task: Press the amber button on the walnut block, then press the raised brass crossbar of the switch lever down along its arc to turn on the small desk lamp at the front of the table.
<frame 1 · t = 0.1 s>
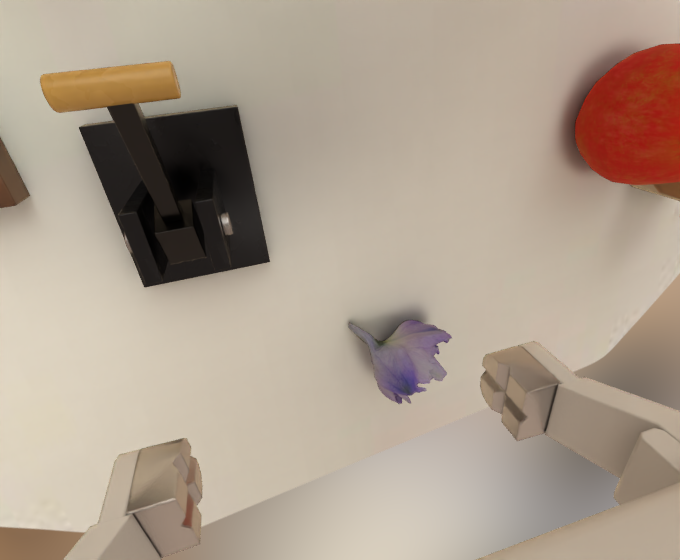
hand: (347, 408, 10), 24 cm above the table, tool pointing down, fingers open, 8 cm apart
cosmetic box: (657, 170, 41), on the table
switch bracket: (188, 198, 30), on the table
flower: (381, 336, 42), on the table
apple: (610, 114, 36), on the table
switch lever: (156, 178, 20), point 9 cm above the table, hinge at 25.0°
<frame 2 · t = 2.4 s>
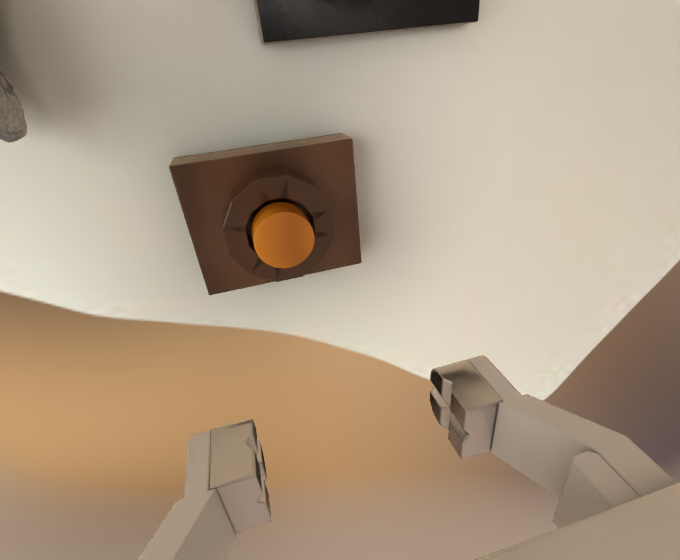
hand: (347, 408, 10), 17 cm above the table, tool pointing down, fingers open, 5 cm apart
button block: (273, 209, 25), on the table
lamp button: (282, 235, 21), point 4 cm above the table, slide at 0.1 cm
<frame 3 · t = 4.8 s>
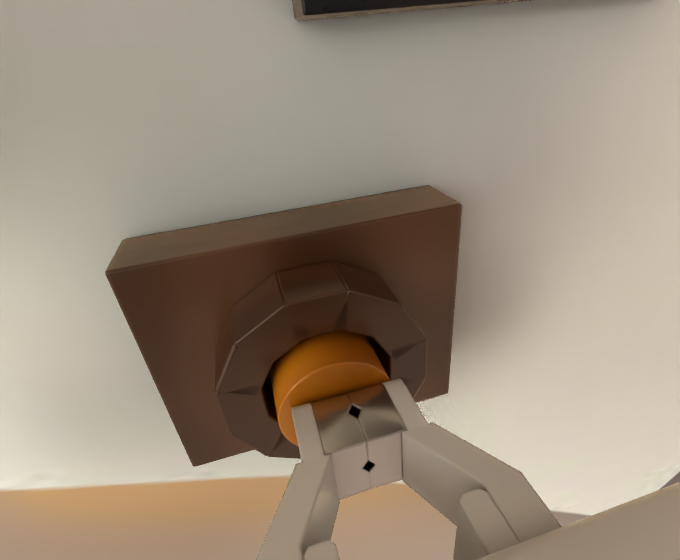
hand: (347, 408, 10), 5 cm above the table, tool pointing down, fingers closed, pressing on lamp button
button block: (303, 311, 14), on the table
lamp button: (330, 386, 11), point 4 cm above the table, slide at -0.3 cm, touching gripper
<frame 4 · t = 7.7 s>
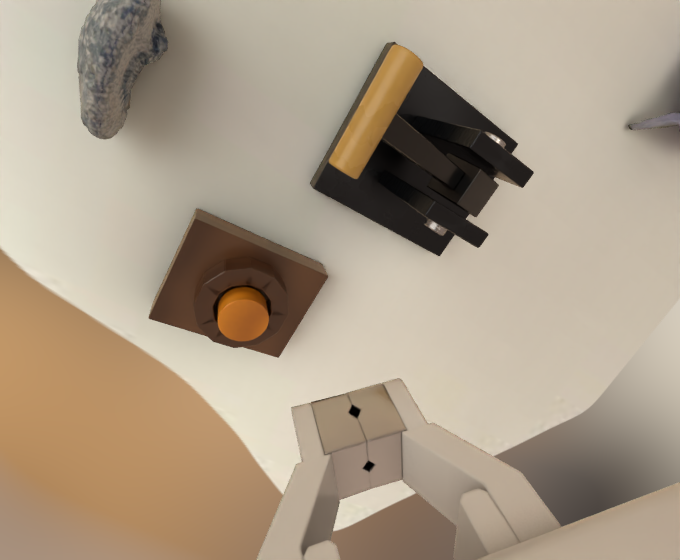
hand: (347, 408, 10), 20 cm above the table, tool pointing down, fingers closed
switch bracket: (412, 161, 28), on the table
flower: (673, 105, 32), on the table
button block: (240, 282, 29), on the table
grey rock: (109, 53, 21), on the table
switch lever: (429, 159, 19), point 9 cm above the table, hinge at 25.0°
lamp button: (243, 313, 26), point 4 cm above the table, slide at 0.1 cm
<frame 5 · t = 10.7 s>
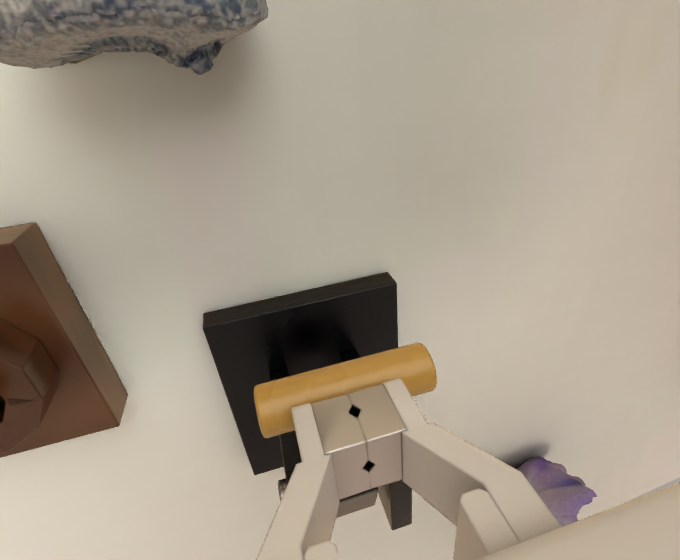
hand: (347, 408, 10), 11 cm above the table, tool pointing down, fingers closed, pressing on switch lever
switch bracket: (314, 373, 24), on the table
flower: (496, 472, 36), on the table
switch lever: (345, 446, 15), point 8 cm above the table, hinge at 17.9°, touching gripper
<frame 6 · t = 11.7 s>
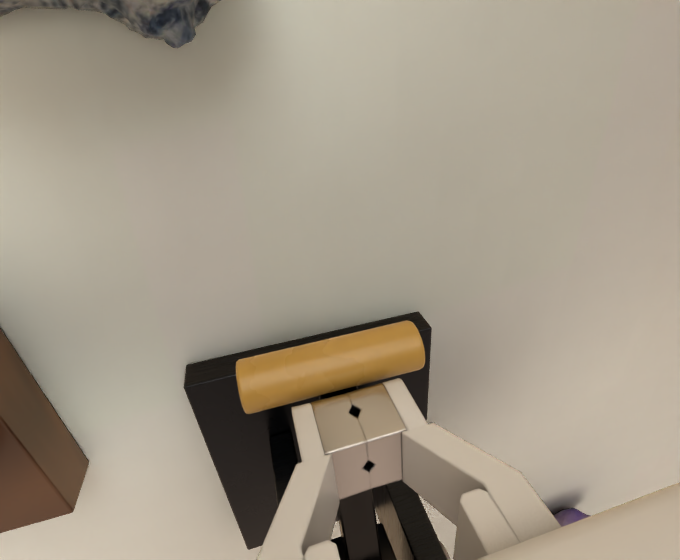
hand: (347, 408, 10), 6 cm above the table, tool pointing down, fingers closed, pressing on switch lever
switch bracket: (323, 430, 19), on the table
flower: (523, 524, 31), on the table
switch lever: (353, 499, 12), point 6 cm above the table, hinge at -13.2°, touching gripper
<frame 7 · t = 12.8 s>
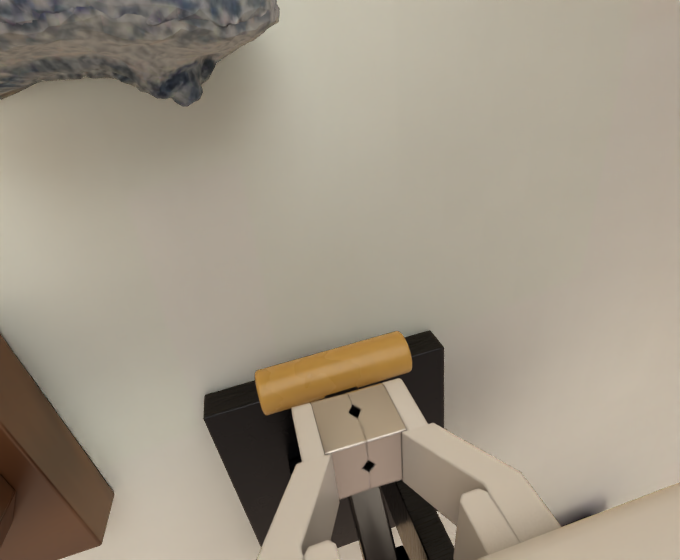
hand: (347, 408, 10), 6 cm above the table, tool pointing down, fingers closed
switch bracket: (341, 450, 20), on the table
switch lever: (367, 506, 13), point 5 cm above the table, hinge at -25.5°
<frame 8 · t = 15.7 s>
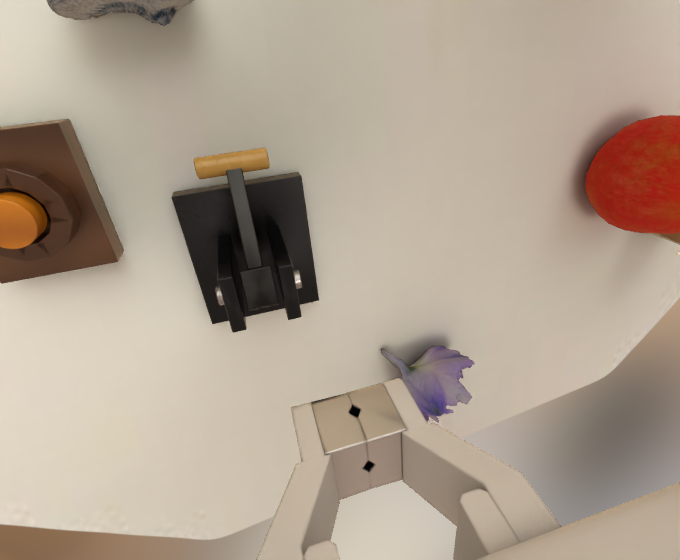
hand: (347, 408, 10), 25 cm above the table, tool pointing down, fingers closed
cosmetic box: (657, 212, 45), on the table
switch bracket: (252, 248, 34), on the table
flower: (409, 359, 46), on the table
button block: (40, 199, 28), on the table
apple: (616, 167, 40), on the table
switch lever: (247, 230, 28), point 5 cm above the table, hinge at -25.5°
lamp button: (12, 220, 24), point 4 cm above the table, slide at 0.1 cm
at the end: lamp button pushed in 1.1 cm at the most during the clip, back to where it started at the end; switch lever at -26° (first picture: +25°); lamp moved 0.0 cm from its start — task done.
